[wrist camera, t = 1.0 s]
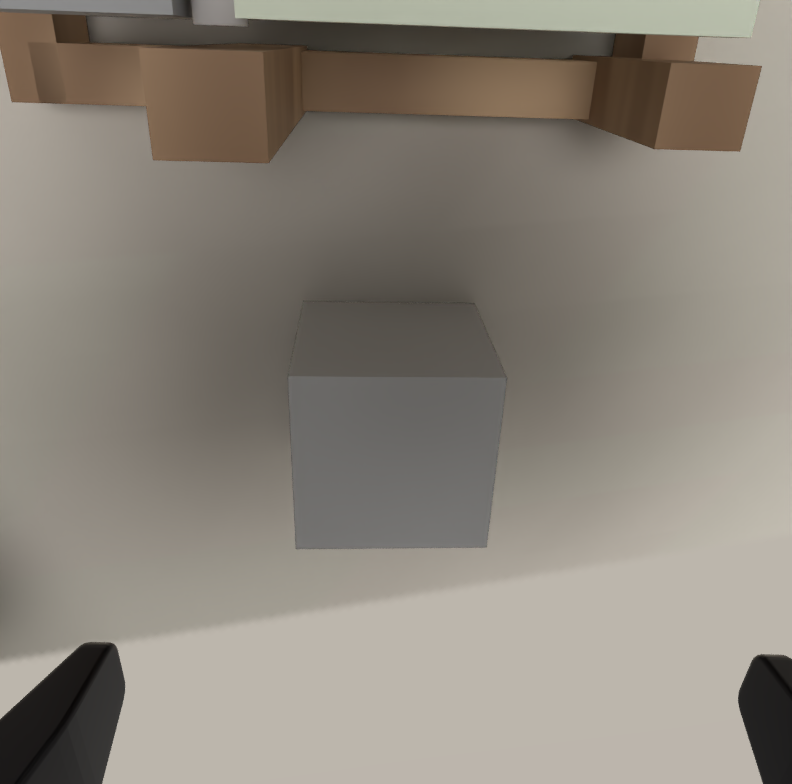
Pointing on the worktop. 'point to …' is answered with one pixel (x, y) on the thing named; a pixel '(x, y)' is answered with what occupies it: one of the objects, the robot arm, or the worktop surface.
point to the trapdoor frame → (372, 88)
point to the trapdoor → (439, 13)
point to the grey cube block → (393, 425)
